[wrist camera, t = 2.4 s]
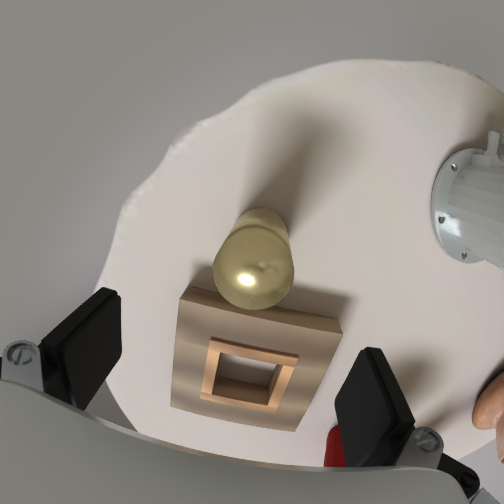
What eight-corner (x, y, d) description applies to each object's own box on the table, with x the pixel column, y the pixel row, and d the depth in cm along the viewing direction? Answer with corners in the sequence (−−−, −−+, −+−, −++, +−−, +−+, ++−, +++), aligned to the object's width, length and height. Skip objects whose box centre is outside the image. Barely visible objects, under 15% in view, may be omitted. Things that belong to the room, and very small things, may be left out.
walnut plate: (187, 286, 29) (178, 300, 26) (337, 319, 29) (343, 335, 26) (176, 391, 34) (169, 408, 31) (293, 415, 34) (294, 433, 31)
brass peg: (239, 202, 27) (220, 225, 17) (292, 214, 27) (303, 244, 17) (229, 253, 28) (206, 299, 19) (279, 264, 28) (282, 317, 19)
